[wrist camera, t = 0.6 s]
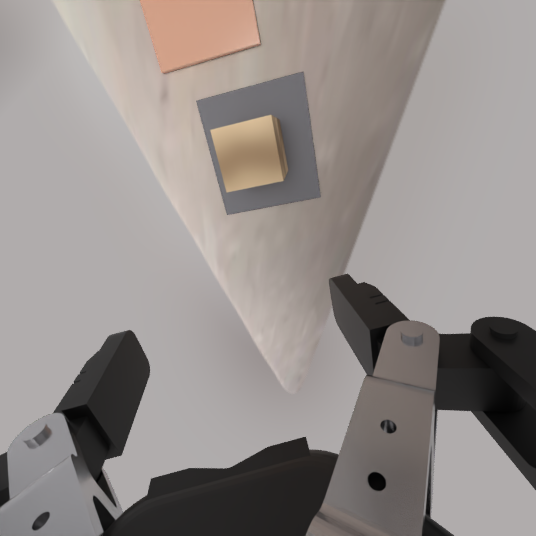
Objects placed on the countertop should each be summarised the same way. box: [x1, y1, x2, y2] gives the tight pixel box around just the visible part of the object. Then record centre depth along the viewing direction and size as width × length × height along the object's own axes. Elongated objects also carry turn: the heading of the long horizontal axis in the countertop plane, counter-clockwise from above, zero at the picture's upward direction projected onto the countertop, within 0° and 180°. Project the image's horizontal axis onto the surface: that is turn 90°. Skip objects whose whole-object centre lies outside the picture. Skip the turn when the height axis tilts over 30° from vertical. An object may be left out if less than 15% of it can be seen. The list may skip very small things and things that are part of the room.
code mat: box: [196, 72, 321, 215], centre depth 31 cm, size 12×11×1 cm
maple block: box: [210, 115, 288, 192], centre depth 27 cm, size 5×5×8 cm
